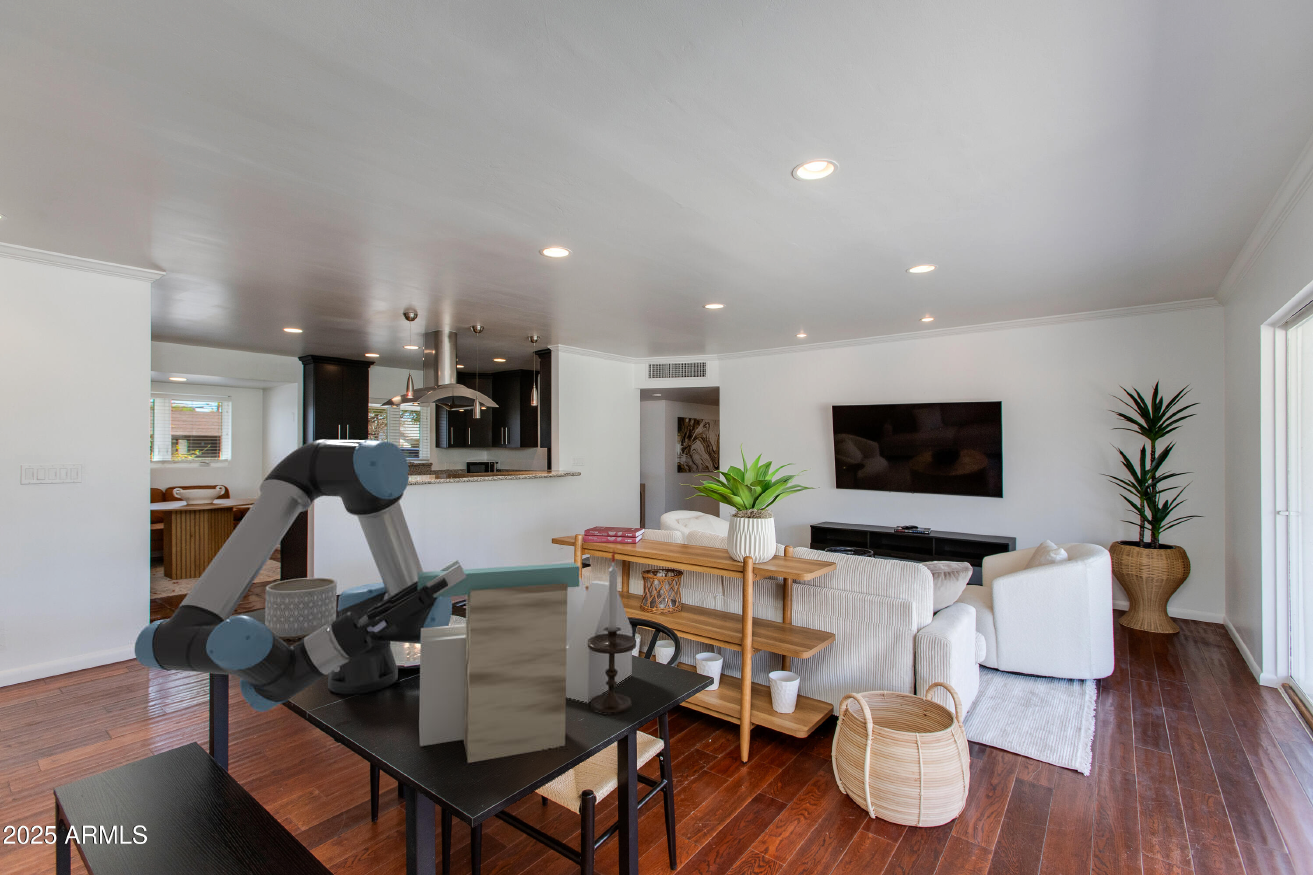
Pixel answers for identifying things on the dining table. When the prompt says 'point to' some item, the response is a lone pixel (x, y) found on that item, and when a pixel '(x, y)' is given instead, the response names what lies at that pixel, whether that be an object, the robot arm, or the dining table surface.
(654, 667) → the dining table surface
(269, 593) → the planter
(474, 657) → the stand
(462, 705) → the white lidded box
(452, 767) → the dining table surface
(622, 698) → the candlestick
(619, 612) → the white slotted block
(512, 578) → the bar
